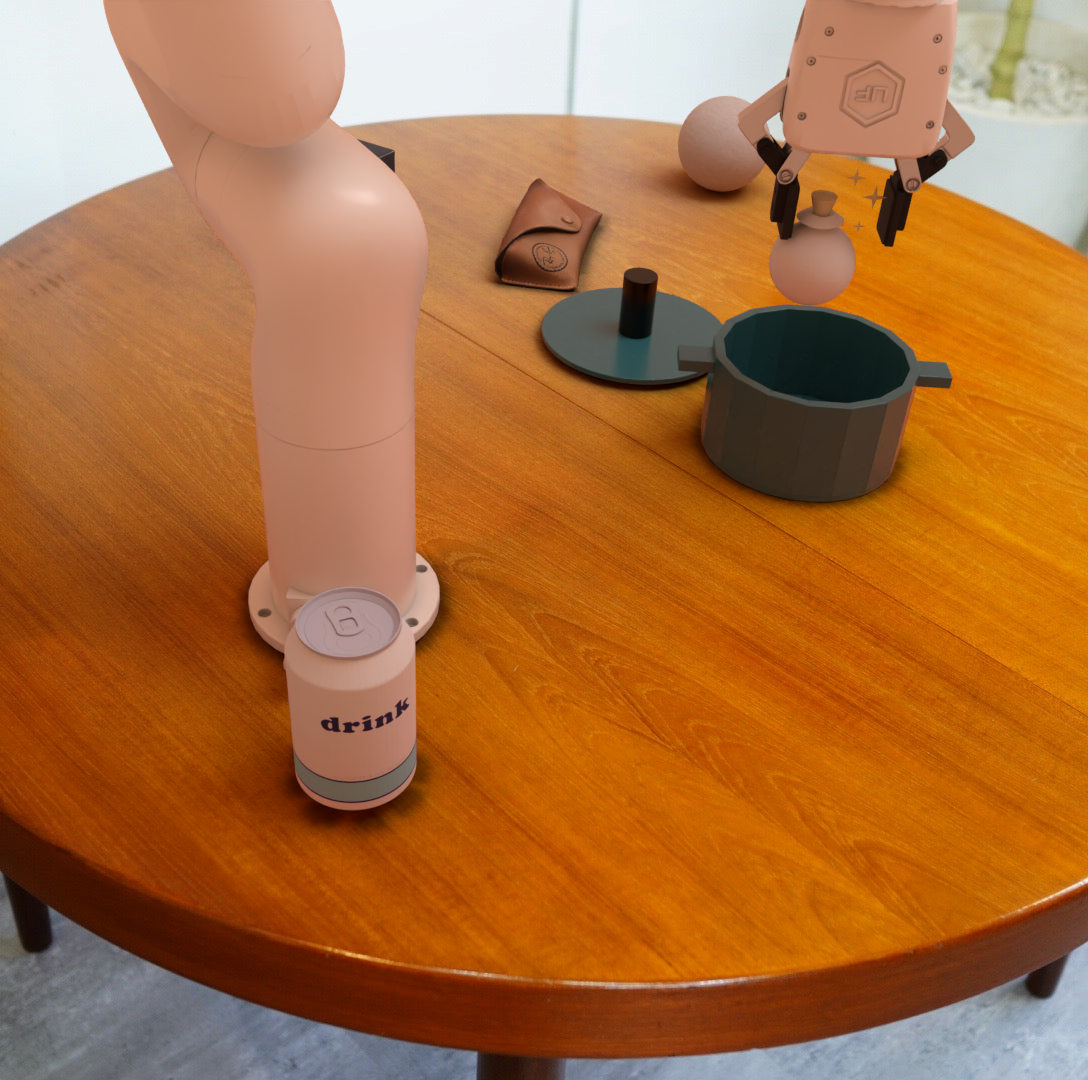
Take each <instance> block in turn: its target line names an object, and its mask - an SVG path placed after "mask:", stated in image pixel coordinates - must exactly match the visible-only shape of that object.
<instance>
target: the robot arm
mask: <svg viewBox="0 0 1088 1080" xmlns="http://www.w3.org/2000/svg"><path fill="white" fill-rule="evenodd" d="M102 3H103V9H104V14H105V18H106V21H107V26H108V28H109V31H110V35H111V37H112V40H113V42H114V45H115V47H116V49H117V51H118V54H119V56H120V58H121V60H122V63H123V65H124V66H125V69H126V71H127V73H128V75H129V78H130V79H131V81H132V83H133V85H134V88H135V90H136V92H137V93H138V96H139V98H140V100H141V103H142V104H143V107H144V109H145V111H146V113H147V115H148V117H149V119H150V121H151V123H152V125H153V127H154V130H155V131H156V134H157V135H158V138H159V140H160V141H161V144H162V146H163V148H164V150H165V153H166V154H167V156H168V159H169V160H170V162H171V164H172V166H173V168H174V171H175V172H176V174H177V177H178V178H179V180H180V182H181V184H182V186H183V188H184V190H185V192H186V194H187V195H188V197H189V200H190V201H191V203H192V204H193V207H194V208H195V209H196V211H197V213H198V214H199V215H200V217H201V218H202V220H203V221H204V222H205V223H206V225H207V226H208V227H209V229H210V230H211V231H212V232H213V234H214V235H215V236H216V237H217V239H219V241H220V242H221V243H222V244H223V245H224V247H225V248H226V249H227V250H228V251H229V253H230V255H231V256H232V257H233V259H234V260H235V261H236V263H238V265H239V266H240V267H241V268H242V270H243V271H244V272H245V274H246V276H247V277H248V279H249V283H250V285H251V289H252V293H253V296H254V304H255V315H254V316H255V317H254V324H253V325H254V326H253V332H252V337H251V338H252V339H251V345H250V354H249V355H250V360H249V361H250V362H249V364H250V365H249V367H250V368H249V371H250V389H251V398H252V399H251V400H252V409H253V416H254V423H255V424H254V425H255V434H256V435H255V436H256V445H257V457H258V464H259V466H258V467H259V474H260V486H261V496H262V506H263V517H264V527H265V528H264V529H265V538H266V539H265V540H266V548H267V549H266V550H267V556H268V557H267V559H268V560H266V561H265V562H264V564H262V566H260V568H259V569H258V570H257V572H256V573H255V575H254V576H253V578H252V580H251V583H250V586H249V589H248V598H247V602H248V603H247V604H248V610H249V615H250V616H249V617H250V620H251V622H252V625H253V627H254V629H255V631H256V632H257V634H258V635H259V636H260V637H261V638H262V640H263V641H264V642H266V643H267V644H268V645H270V646H271V647H273V649H275V650H276V651H278V652H280V653H283V654H284V655H285V653H284V648H285V642H286V639H287V636H288V634H289V632H290V630H291V629H292V627H293V626H294V625H295V623H296V617H297V614H298V612H299V611H300V609H301V608H302V606H303V605H304V604H305V603H306V602H307V601H309V600H310V599H311V598H313V597H314V596H316V595H318V594H320V593H323V592H325V591H328V590H332V589H336V588H343V587H360V588H367V589H371V590H374V591H377V592H380V593H382V594H384V595H386V596H387V597H389V598H390V599H391V600H392V601H393V602H394V603H395V604H396V605H397V606H398V608H399V610H400V612H401V616H402V618H403V619H404V620H405V621H406V623H407V624H408V625H409V627H410V628H411V630H412V633H413V635H414V639H415V643H416V642H417V641H419V640H420V639H421V638H422V637H424V636H425V635H426V634H427V632H428V631H429V630H430V628H431V627H432V626H433V624H434V622H435V620H436V618H437V616H438V613H439V608H440V602H441V597H440V595H441V593H440V584H439V579H438V576H437V574H436V572H435V570H434V568H433V567H432V565H431V563H429V562H428V561H427V560H426V559H425V558H424V557H423V555H421V554H420V553H418V552H417V533H416V532H417V531H416V530H417V526H416V523H417V521H416V520H417V519H416V517H417V516H416V514H417V512H416V510H417V509H416V508H417V507H416V505H417V504H416V401H415V399H416V398H415V397H416V396H415V395H416V393H415V391H416V390H415V389H416V388H415V384H416V383H415V382H416V381H415V379H416V377H415V376H416V375H415V373H416V371H415V368H416V366H415V365H416V344H417V332H418V323H419V319H420V318H419V317H420V311H421V306H422V301H423V297H424V293H425V288H426V281H427V277H428V269H429V252H430V251H429V249H430V248H429V238H428V232H427V228H426V225H425V221H424V218H423V215H422V213H421V210H420V209H419V206H418V204H417V202H416V200H415V199H414V197H413V196H412V194H411V192H410V191H409V189H408V188H407V186H406V184H405V183H403V181H402V180H401V178H399V176H398V175H397V174H396V172H395V173H394V172H393V171H392V170H391V169H390V168H389V167H388V166H387V165H386V164H385V163H384V162H383V161H381V160H380V159H379V158H378V157H377V156H376V155H375V154H373V153H372V152H371V151H370V150H369V149H368V148H366V147H365V146H364V145H363V144H362V143H361V142H359V141H358V140H357V139H358V138H356V137H355V136H353V134H351V133H349V132H347V131H346V130H345V129H344V128H342V127H341V126H340V125H339V124H338V123H337V122H336V121H334V120H333V119H332V117H331V116H332V115H333V113H334V111H335V109H336V108H337V105H338V103H339V100H340V98H341V95H342V91H343V87H344V82H345V77H346V76H345V75H346V73H345V72H346V51H345V46H344V39H343V33H342V29H341V24H340V22H339V19H338V15H337V13H336V10H335V7H334V5H333V1H332V0H102ZM958 3H959V0H805V3H804V6H803V9H802V12H801V15H800V18H799V21H798V25H797V28H796V32H795V36H794V40H793V43H792V48H791V51H790V55H789V59H788V64H787V68H786V72H785V77H784V78H783V79H782V80H780V82H778V83H777V84H776V85H774V86H773V87H772V88H770V89H769V90H767V91H766V92H765V93H764V94H762V95H761V96H760V97H759V98H757V99H756V100H754V101H753V102H752V103H751V105H749V106H748V107H747V108H745V109H744V110H743V111H741V112H740V113H739V114H738V116H737V122H738V127H739V129H740V130H741V132H742V133H743V134H744V136H745V137H746V138H747V140H748V141H749V142H750V144H751V145H752V146H753V147H754V148H755V150H756V151H757V152H758V155H759V156H760V157H761V159H762V160H763V161H764V162H765V166H767V167H768V169H769V170H770V172H772V173H773V175H774V177H775V180H774V184H773V185H774V186H773V192H772V197H771V204H770V209H769V220H770V223H776V227H777V231H778V236H780V239H781V240H788V239H789V238H791V237H792V232H793V226H794V223H795V221H796V215H797V209H798V204H799V199H800V193H801V185H800V182H799V172H800V171H801V169H802V168H803V167H804V165H805V164H806V162H807V160H808V159H809V157H811V154H822V155H833V156H834V155H836V156H848V157H849V156H850V157H863V158H878V159H879V158H880V159H893V162H894V166H895V169H896V170H894V171H893V173H892V174H890V175H889V178H886V181H885V186H884V189H883V194H882V196H883V197H887V198H884V199H881V202H880V208H879V212H878V215H877V221H876V225H875V226H876V228H875V229H876V232H877V234H878V238H879V240H880V243H881V245H883V246H884V247H886V248H887V247H888V248H893V247H894V244H895V241H896V236H897V232H903V231H904V230H905V228H906V224H907V220H908V215H909V211H910V207H911V203H912V199H913V194H915V193H917V192H919V190H921V188H922V185H923V183H925V182H926V181H927V180H929V179H931V178H932V177H933V176H934V175H937V173H938V172H940V171H942V170H943V169H944V168H945V167H946V166H947V164H948V162H950V161H951V160H954V159H955V158H956V157H958V156H959V155H960V154H962V153H963V152H964V151H965V150H967V149H968V148H969V147H971V146H972V145H973V144H974V143H975V140H976V136H975V133H974V132H973V130H972V128H971V127H970V126H969V124H968V123H967V122H966V120H965V119H964V118H963V117H962V115H961V114H960V113H959V112H958V110H957V109H956V107H954V105H953V104H952V102H951V101H950V100H949V98H948V93H949V87H950V82H951V75H952V69H953V63H954V56H955V55H954V54H955V46H956V39H957V27H958V9H959V6H958V5H959V4H958ZM777 114H779V120H780V121H781V123H782V133H783V137H784V141H783V143H782V145H780V144H779V143H778V141H777V140H776V139H775V137H773V135H772V134H771V133H768V131H767V130H766V128H765V127H764V125H765V123H766V122H767V123H768V121H769V120H771V119H772V118H773V117H775V116H776V115H777ZM942 128H943V129H944V131H945V132H944V134H943V136H941V138H940V134H941V130H942ZM282 665H283V670H285V671H286V665H285V657H283V662H282Z"/></svg>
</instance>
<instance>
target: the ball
mask: <svg viewBox="0 0 1088 1080" xmlns="http://www.w3.org/2000/svg"><path fill="white" fill-rule="evenodd" d="M751 104H752V103H750V102H749V101H748V100H745V99H743V98H741V97H737V96H733V95H719V96H715V97H711V98H709V99H706V100H704V101H702V102H701V103H699V104H697V106H695V107H694V108H693V109H692V110H691V111H690V112H689V114H687V116H686V117H685V120H684V121H683V124H682V125H681V128H680V131H679V134H678V141H677V150H678V151H677V153H678V157H679V160H680V163H681V167H682V168H683V170H684V171H685V173H686V175H687V176H688V177H689V178H690V179H691V180H692V181H693V182H695V183H696V184H697V185H699V186H700V187H702V188H704V189H707V190H710V191H712V192H721V193H723V192H731V191H735V190H738V189H741V188H744V187H745V186H747V185H748V184H750V183H751V182H753V181H754V180H755V179H756V178H757V177H758V176H759V175H760V173H761V172H762V170H763V169H764V168H765V166H766V164H765V162H764V161H763V160H762V159H761V157H760V156H759V155H758V152H757V151H756V150H755V148H754V147H753V146H752V145H751V144H750V142H749V141H748V140H747V138H746V137H745V136H744V134H743V133H742V132H741V130H740V129H739V127H738V122H737V116H738V114H739V113H740V112H741V111H743V110H744V109H745V108H747V107H748V106H749V105H751ZM764 127H765V128H766V130H767V131H768V133H770V128H769V124H768V121H767V122H766V123H765V125H764ZM770 134H771V133H770Z"/></svg>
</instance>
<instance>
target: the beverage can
mask: <svg viewBox="0 0 1088 1080" xmlns="http://www.w3.org/2000/svg"><path fill="white" fill-rule="evenodd" d="M284 653H285V654H284ZM284 653H283V654H284V658H285V665H286V670H285V674H286V685H287V695H288V706H289V707H288V708H289V717H290V728H291V738H292V740H291V741H292V747H293V751H292V752H293V760H294V772H295V776H296V780H297V782H298V785H299V786H300V788H301V789H302V790H303V792H304V793H305V794H306V795H308V797H310V798H311V799H313V801H315V802H317V803H319V804H322V805H323V806H327V807H328V808H332V809H336V810H342V811H363V810H368V809H373V808H377V807H379V806H382V805H384V804H386V803H389V802H390V801H392V800H394V799H395V798H396V797H398V796H400V795H401V794H402V793H403V792H404V791H405V790H406V789H407V788H408V786H409V785H410V783H411V782H412V780H413V778H414V776H415V773H416V770H417V679H416V676H417V674H416V669H417V668H416V667H417V666H416V665H417V664H416V662H417V661H416V642H415V639H414V635H413V633H412V630H411V628H410V627H409V625H408V624H407V623H406V621H405V620H404V619H403V618H402V616H401V612H400V610H399V608H398V606H397V605H396V604H395V603H394V602H393V601H392V600H391V599H390V598H389V597H387V596H386V595H384V594H382V593H380V592H377V591H374V590H371V589H367V588H360V587H343V588H336V589H332V590H328V591H325V592H323V593H320V594H318V595H316V596H314V597H313V598H311V599H310V600H309V601H307V602H306V603H305V604H304V605H303V606H302V608H301V609H300V611H299V612H298V614H297V617H296V623H295V625H294V626H293V627H292V629H291V630H290V632H289V634H288V636H287V639H286V642H285V648H284Z"/></svg>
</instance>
